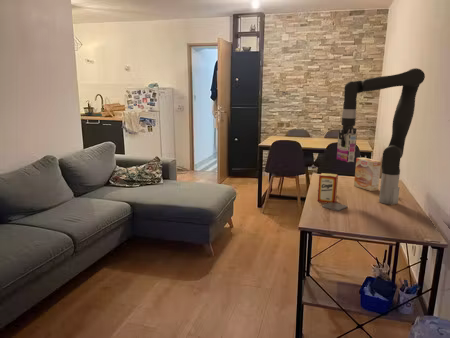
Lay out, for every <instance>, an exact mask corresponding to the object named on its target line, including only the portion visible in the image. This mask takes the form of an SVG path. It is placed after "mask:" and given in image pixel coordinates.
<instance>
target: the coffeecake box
mask: <svg viewBox="0 0 450 338" xmlns="http://www.w3.org/2000/svg"><path fill="white" fill-rule="evenodd" d="M381 169H382V160H377V159H371V158H369V157H368V158H367V157H356V160H355V171H354V182H353V186H354V187H357V188H360V189H364V190H366V191H370V192H373V191H375V192H376V191H379V186H380V185H379V184H380V175H381Z"/></svg>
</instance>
